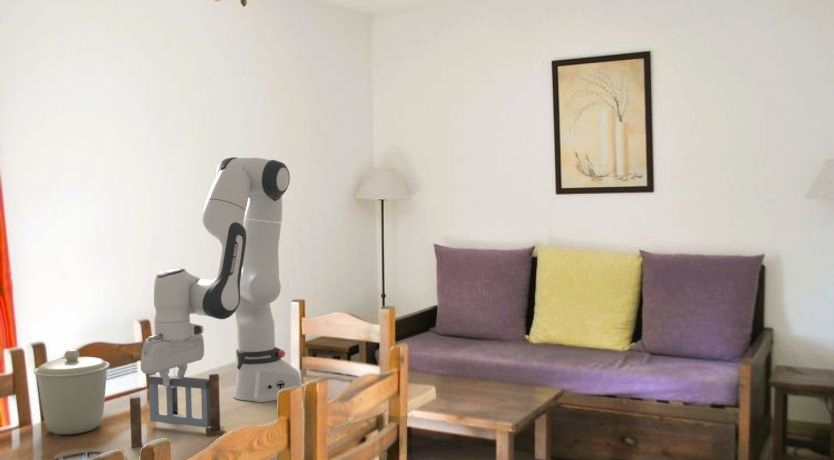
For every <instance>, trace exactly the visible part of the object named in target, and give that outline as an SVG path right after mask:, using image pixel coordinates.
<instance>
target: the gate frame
mask: <svg viewBox="0 0 834 460" xmlns="http://www.w3.org/2000/svg"><path fill="white" fill-rule="evenodd" d="M208 379H209V394H210V427H208V428H206V427H205V433H206V437H215V436H216V435H218V436H223V435H222V434H224V433H225V434H226V429H225V427H224V426H223V425H222V426H221V416H220V415H221V413H220V410H221V409H220V408H221V407H220V376H219V374H218V373H212V374H209V375H208ZM141 401H142V400H141V395H140V394H139V395H130V396H129V411H130V412H129V414H130V415H129V416H130V417H129V418H130V442H131V443H130V445H131V448H140V447H142V446H143V441H142V440H143V437H142V435H143V434H142V433H143V432H142V411H141V410H142V408H141V405H142V402H141ZM216 437H217V436H216Z"/></svg>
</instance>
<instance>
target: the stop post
mask: <svg viewBox="0 0 834 460" xmlns="http://www.w3.org/2000/svg"><path fill="white" fill-rule="evenodd" d="M178 398H179V397H178V386H172V404H173V414H175V415H180V414H179V404H178V403H179V402H178Z"/></svg>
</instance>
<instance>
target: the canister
mask: <svg viewBox="0 0 834 460" xmlns="http://www.w3.org/2000/svg"><path fill="white" fill-rule="evenodd" d="M110 366H111V365H110V363H109V362H108V361H105V360H104V359H102V358H100V357H94V356H93V357H92V356H80V352H79V350H77V349H73V348H72V349H67V350H66V351H65V352H64V358H59V359H53V360H50V361H47V362H44V363H42V364H41V365H39V366H38V367H37V368H35V369H34V370H33V374H34V375H35V376H36V378H37V385H38V391H39V397H40V403H41V404H40V405H41V409H42V415H43V419H44V424H45V427H46V429H47V430H48V432H50V433H52V434H53V435H54V434H55V435H59V436H60V435H61V436H66V435H67V436H68V435H78V434H83V433H87V432H90V431H92V430H95V429H96V428H97V427H99V426H100V424H101V423H102V421H103V417H104V409H105V400H106V399H105V398H106V385H107V376H108V375H107V374H108V368H109V367H110Z"/></svg>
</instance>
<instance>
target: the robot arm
mask: <svg viewBox="0 0 834 460" xmlns="http://www.w3.org/2000/svg"><path fill="white" fill-rule="evenodd" d="M290 178H291V176H290V170H289V169H288V166H287V165H286V164H285V162H284V163H283V162H281V161H278V160H275V159H267V158H261V157H235V156H234V157H228V158H225V159H223V160H222V161H221V162H220V163H219V165H218V166H217V168H216V174H215V179H214V181H213V183H212V185H211V188H210V190H209V193H208V195H207V197H206V202H205V203H204V204H205V205H204V208H203V211H202V223H203V227H204V228H205V229H206V231H207V232H208V233H209V234H210V235H211V236H213V238H214V237H215V238H216V239H217V240H218V241H219V242H220V243H221V244H220V245H221V254H220V255H221V256H220V260H219V261H220V262H219V267H218V273H217V276H216V277H215V278H214V279H206V278H201V277H197V276H196V275H193V274H191V273H189V272H188V271H187V270H186V269H185V268H183V267H182V268H181V267H174V268H168V269H167V268H166V269H164V270H161V271H160V272H158V273H157V274H156V277H155V279H154V284H153V305H154V308H155V316H154V335H151V336H150V335H149V336H148V337H147V338H146V339H145V340H144V341H143V343H142V348H141V355H140V371H141V372H142V374H147V375H155V374H157V373H158V375H160V376H161V377H162V379H163V385H162V386H163V387H168V386H171V385H172V379H170V378H169V376H170V375H169V374H170V370H171V369H175V368H177V369H178V370H177V374H176V375H175V376H176V377H185V374H186V372H187V370H188V364H191V363H195V362H198V361H201V360H203V357H204V355H205V340H204V336H203V335H202V334H203V333H204V326H203V325H200V324H196V323H192V322H191V317H190V315H191V314H192V315H199V316H205V317H210V318H213V319H218V320H226V319H228V318H230V317H232V315H233V314H235V320H236V334H237V336H236V338H237V339H236V341H237V349H236V350H235V351H236V352H235V362H236V363H235V365H236V369H237V370H236V372H237V373H236V374H237V375H236V382H235V387H234V391H233V394H232V395H233V398H235V399H237V400H242V401H249V402H250V401H251V402H252V401H253V402H256V403H257V402H258V403H265V402H273V401H277V393H278V391H279V390H281V389H284V388H289V387H293V386H302V387H303V386H304V385H305V384H304V383H302V380H301V379H302V377H301V375H300V373H299V371H298V370H297V369H296V368H295V367H294V366H292V365H291V364H289V363H288V362H287V361H285V360H284V359H282V358H285V356H286V352H285V350H284V349H281V348H278V347H277V346H276V344H275V343H276V342H275V341H276V339H275V337H276V336H275V319H274V317H273V313H272V309H271V303H273V302H275V301H276V300H277V298H279V296H280V294H281V289H282V287H281V286H282V285H281V281H280V265H279V264H280V263H279V244H280V236H281V230H282V228H281V227H282V220H283V219H282V218H283V196H284V194H285V193H286V191H287V189H289V185H290V181H291V179H290Z"/></svg>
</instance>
